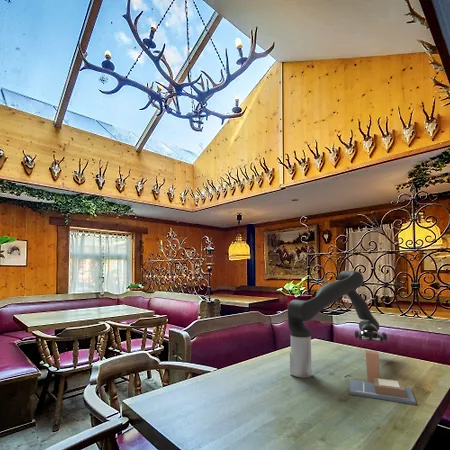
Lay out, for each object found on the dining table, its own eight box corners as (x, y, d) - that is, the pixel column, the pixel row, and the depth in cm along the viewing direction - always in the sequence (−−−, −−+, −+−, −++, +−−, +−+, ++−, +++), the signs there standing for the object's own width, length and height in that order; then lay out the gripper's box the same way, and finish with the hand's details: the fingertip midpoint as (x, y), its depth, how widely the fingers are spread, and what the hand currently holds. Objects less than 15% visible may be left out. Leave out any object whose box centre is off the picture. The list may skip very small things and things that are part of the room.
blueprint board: (349, 394, 118) (349, 383, 118) (350, 381, 131) (350, 372, 131) (416, 404, 109) (415, 392, 110) (410, 390, 122) (409, 380, 122)
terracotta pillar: (367, 382, 130) (365, 353, 132) (367, 378, 135) (365, 350, 136) (380, 384, 128) (378, 354, 130) (379, 380, 133) (378, 351, 134)
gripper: (354, 323, 162) (354, 329, 147) (384, 325, 156) (387, 331, 142) (355, 337, 161) (355, 345, 146) (385, 340, 155) (388, 348, 141)
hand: (370, 338), depth 144 cm, fingers open, 8 cm apart
